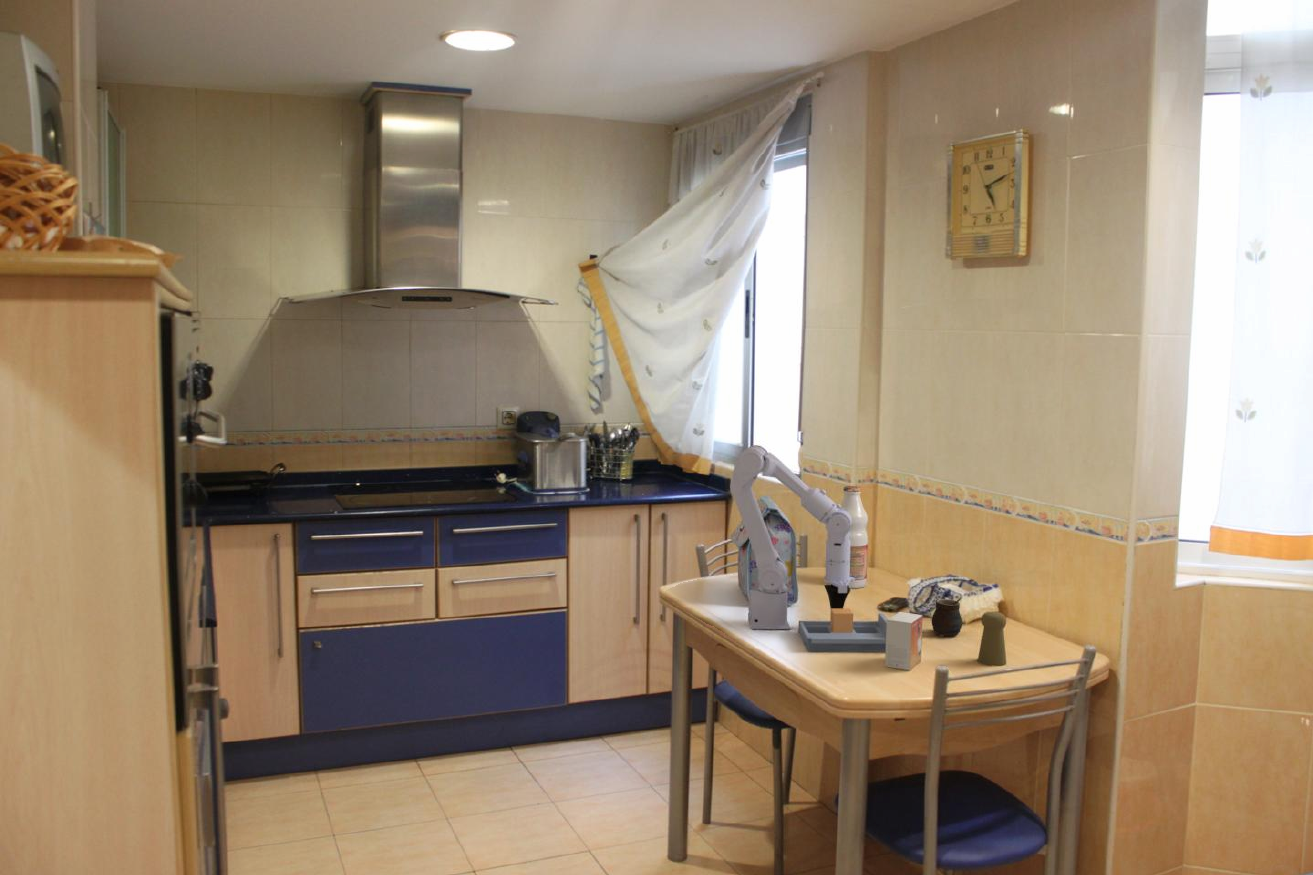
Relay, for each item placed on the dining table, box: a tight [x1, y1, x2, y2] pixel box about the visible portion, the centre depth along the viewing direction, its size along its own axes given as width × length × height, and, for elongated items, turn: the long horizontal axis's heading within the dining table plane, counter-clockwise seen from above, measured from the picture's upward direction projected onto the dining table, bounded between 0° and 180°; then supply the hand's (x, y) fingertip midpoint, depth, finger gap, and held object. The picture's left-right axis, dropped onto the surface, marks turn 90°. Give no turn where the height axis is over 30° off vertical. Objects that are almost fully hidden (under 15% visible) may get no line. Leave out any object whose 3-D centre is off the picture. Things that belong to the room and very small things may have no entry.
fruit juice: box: [840, 485, 869, 589], centre depth 307 cm, size 9×9×28 cm
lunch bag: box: [730, 494, 799, 606], centre depth 293 cm, size 22×17×26 cm
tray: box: [797, 612, 888, 653], centre depth 252 cm, size 20×15×5 cm
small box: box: [884, 611, 924, 671], centre depth 236 cm, size 8×6×10 cm
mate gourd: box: [931, 596, 963, 638], centre depth 259 cm, size 7×8×10 cm
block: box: [829, 608, 854, 633], centre depth 255 cm, size 4×4×4 cm
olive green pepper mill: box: [977, 611, 1007, 667], centre depth 238 cm, size 6×6×11 cm
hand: (836, 615), depth 262 cm, fingers closed
